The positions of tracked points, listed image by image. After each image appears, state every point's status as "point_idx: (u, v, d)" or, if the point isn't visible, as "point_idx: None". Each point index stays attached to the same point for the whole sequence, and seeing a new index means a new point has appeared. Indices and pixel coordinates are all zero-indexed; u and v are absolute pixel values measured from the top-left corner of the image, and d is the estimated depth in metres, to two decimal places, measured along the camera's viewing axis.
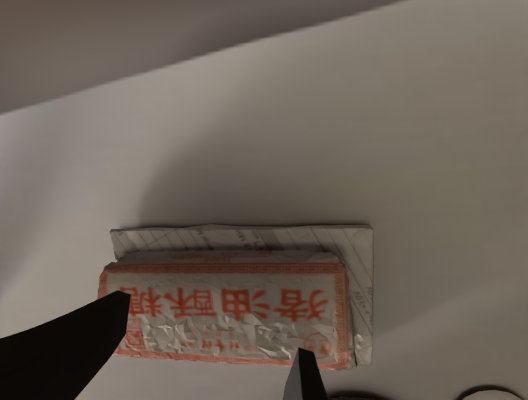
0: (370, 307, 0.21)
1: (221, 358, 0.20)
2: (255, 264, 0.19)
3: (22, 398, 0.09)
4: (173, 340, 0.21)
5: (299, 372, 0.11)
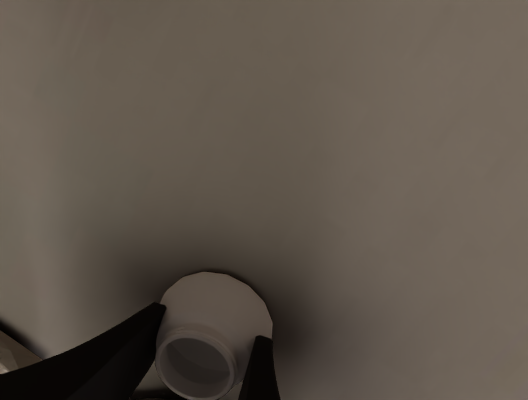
0: None
1: None
2: None
3: None
4: None
5: (251, 357, 0.11)
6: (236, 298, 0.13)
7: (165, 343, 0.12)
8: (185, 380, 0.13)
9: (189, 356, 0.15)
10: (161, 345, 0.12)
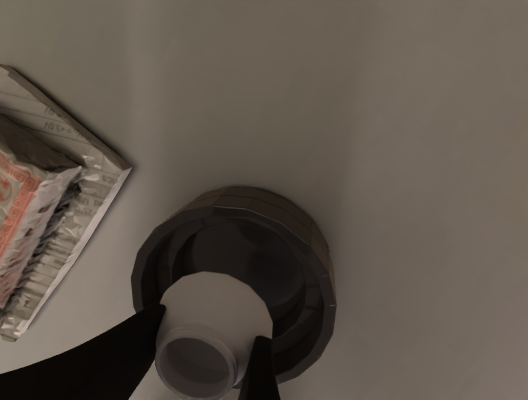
0: (65, 124, 0.19)
1: None
2: None
3: None
4: None
5: (251, 357, 0.11)
6: (236, 298, 0.13)
7: (165, 343, 0.12)
8: (185, 380, 0.13)
9: (189, 355, 0.15)
10: (161, 345, 0.12)
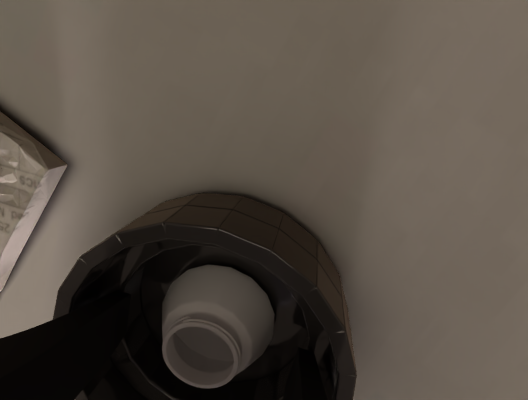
0: None
1: None
2: None
3: (22, 398, 0.09)
4: None
5: (299, 372, 0.11)
6: (239, 289, 0.13)
7: (172, 332, 0.12)
8: (190, 368, 0.13)
9: (193, 346, 0.16)
10: (168, 334, 0.12)
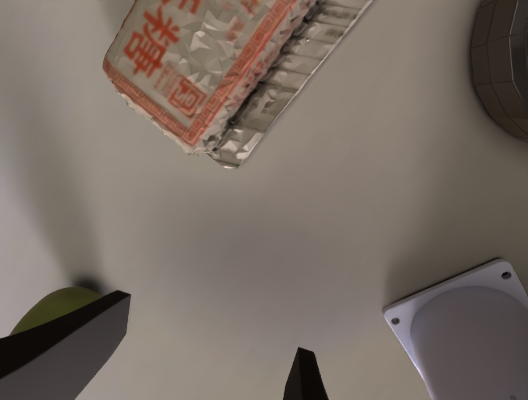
0: None
1: (281, 1, 0.14)
2: None
3: (22, 398, 0.09)
4: (218, 47, 0.15)
5: (299, 372, 0.11)
6: None
7: None
8: None
9: None
10: None
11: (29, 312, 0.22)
